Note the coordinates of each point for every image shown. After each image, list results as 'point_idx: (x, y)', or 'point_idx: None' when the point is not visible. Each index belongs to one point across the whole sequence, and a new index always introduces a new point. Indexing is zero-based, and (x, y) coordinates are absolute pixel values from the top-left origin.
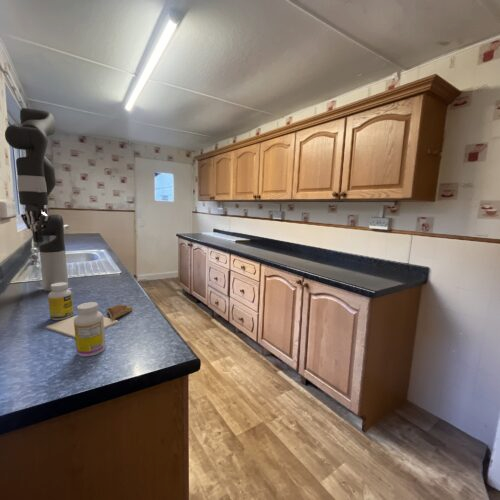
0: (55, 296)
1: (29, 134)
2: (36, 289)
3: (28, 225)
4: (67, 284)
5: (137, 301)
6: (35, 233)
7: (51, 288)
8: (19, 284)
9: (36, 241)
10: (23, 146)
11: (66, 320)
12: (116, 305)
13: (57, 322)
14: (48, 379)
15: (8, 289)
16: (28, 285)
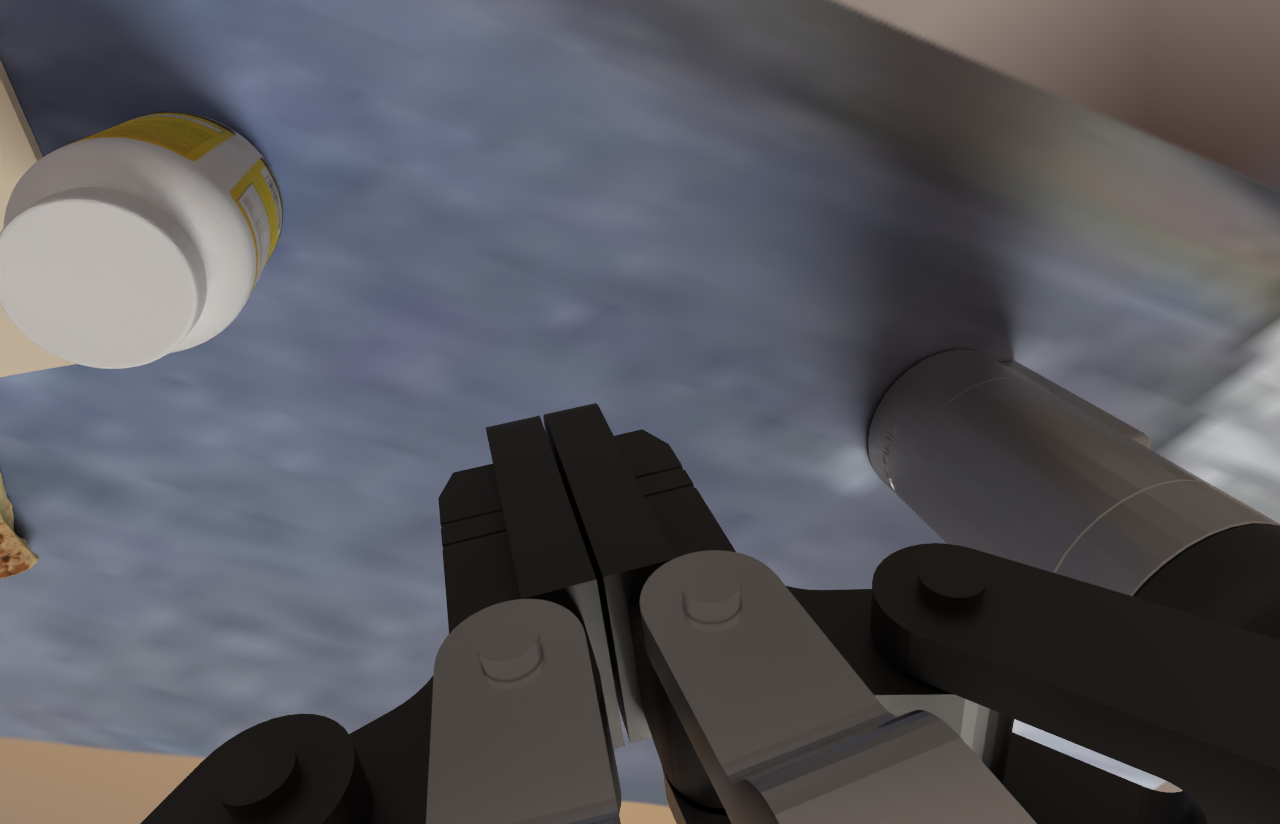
0: (24, 177)
1: None
2: (1039, 323)
3: (974, 654)
4: (71, 356)
5: (130, 688)
6: (515, 570)
7: (84, 190)
8: (1252, 287)
9: (491, 440)
10: None
11: (5, 169)
12: (18, 552)
13: (6, 99)
14: None
15: (1217, 194)
16: (1175, 320)
